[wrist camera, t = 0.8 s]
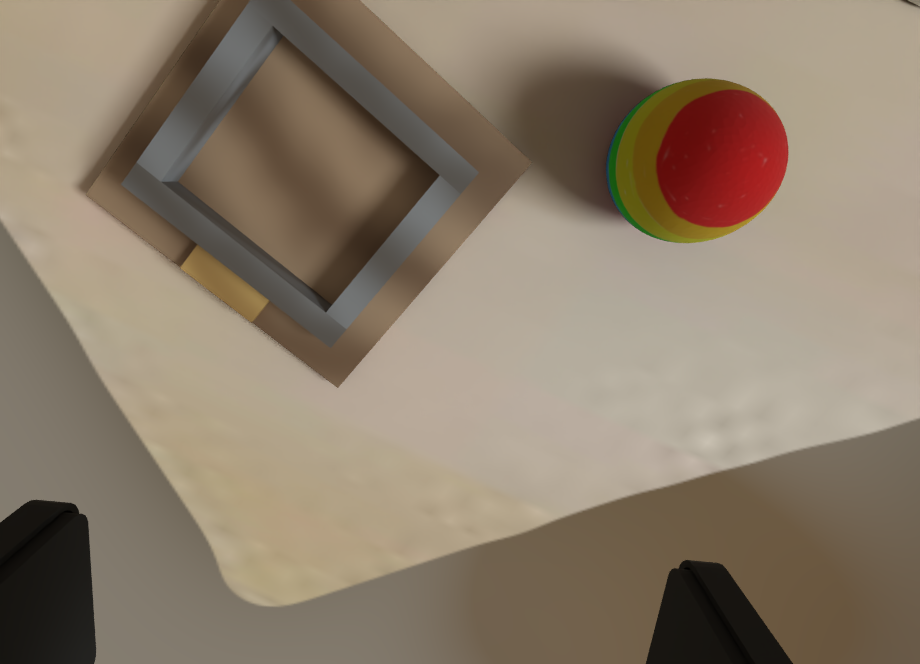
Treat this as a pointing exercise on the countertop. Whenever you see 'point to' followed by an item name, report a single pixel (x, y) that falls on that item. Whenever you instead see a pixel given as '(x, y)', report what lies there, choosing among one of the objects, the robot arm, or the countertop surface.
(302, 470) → the countertop surface
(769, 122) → the decorative egg
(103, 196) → the square framed tray
